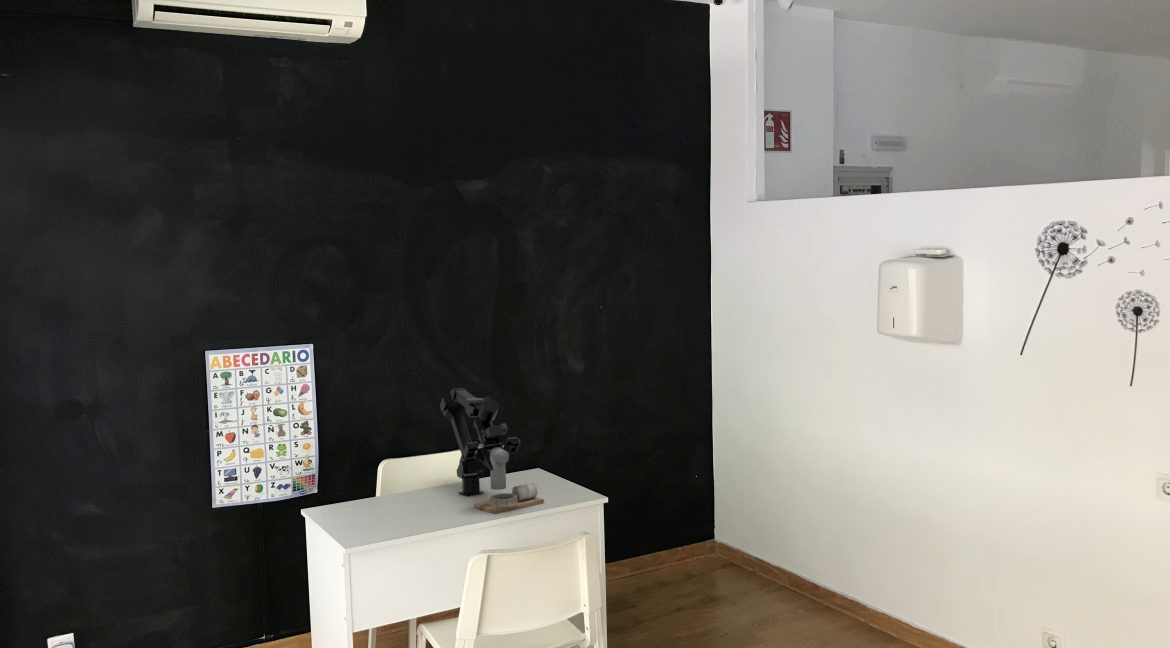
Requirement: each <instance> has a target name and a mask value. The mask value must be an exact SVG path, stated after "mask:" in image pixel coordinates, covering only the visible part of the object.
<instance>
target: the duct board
mask: <svg viewBox="0 0 1170 648" xmlns="http://www.w3.org/2000/svg"><path fill="white" fill-rule="evenodd" d="M538 493H539V492H538V487H537V485H536V483H534V482H530V483H524V484H521V485H517V486H513V488H512V490H511V493H510V492H508V493H497V494H496V493H495V494H492V495H491V496H490V498H489V500H486V501H482V502H480V501H479V502H475V503H473V508H475V507H476V509H478V508H479V509H478V510H481V509H482V510H481V511H484V510H485V511H484V512H486V511H487V513H489V512H490V514H492V513H493V515H496V514H502V513H505V512H509V511H510V512H511V511H514V510H518V509H523V507H524V508H527V507H532V506H537V505H541V504H545V499H543V498H540V497H538Z"/></svg>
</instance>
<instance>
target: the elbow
mask: <svg viewBox="0 0 1170 648" xmlns="http://www.w3.org/2000/svg"><path fill="white" fill-rule="evenodd" d="M489 459H490V462H491V464H492V467H493V470H492V471H491V470H490V469H489V470H490V474H489V475H490V477H489V479H490V489H491V490H495V491H499V490H505V489H506V488H507V479H506V478H507V477H506V476H507V475H506V474H507V473H506V472H507V471H506V467H505V463H506V462H507V461H508V462H509V459H510V454H508V452H507V451H505V450H503V449H502V448H500V447H495V448H493V449H492V450H491V451H489Z"/></svg>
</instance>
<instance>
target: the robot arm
mask: <svg viewBox="0 0 1170 648" xmlns="http://www.w3.org/2000/svg"><path fill="white" fill-rule="evenodd" d="M439 408H440V411H441V412H442V414H443V417H444V418H445V419H447V420H448V421H449V422H450V423H451V426H452V430H453V432H454V433H453V434H454V436H455V438H456V442H457V444H458V447H459V448H458V449H459V451H460V454H461V455H460V458H459V461H458V462H459V464H458V466H457V469H456V476H457V478H459V479H461V481H462V485H461V486H462V491H459V492H458V494H459V495H463V496H465V497H471V496H470V495H472V496H475V494H477V495H480V494H479V493H482V494H484V491H482V490H481V484H480V477H484V476H485V473H486V467H487V469H489V470H491V471H492V470H493V467H492V464H491V462H490V456H489V455H488V452H491V450H492V449H493V448H495V447H500V448H502V449H503V450H505V451H507V452H508V454H509V455H510V454H514V453H517V452H518V450H519V448H520V445H521V440H520V438H519V437H516V436H515V437H507V438H506V441H505V442H501V441H502V436H504V435H506V434H507V433H508V432H509V428H508V425H507V424H506V422H505V423H501V424H499V425H493V422H494V420H495V419H496V417H497V414H498V411H499V409H500V404H499V402H498V401H496V400H495V399H493V398H491V396H485V397H484V398H482V397H475V396H474V395H473V394H471V393H470V392H468V391H467V390H466V388H464V387H462V388H461V387H460V388H452V389H451V390H450V392H449V393H447V394H446V395H444V396H443V397H442V399H441V401H440V404H439ZM464 413H465V414H466V415H467V416H468V417H469V418H474V420H473V428H474V429H476V432H477V433H476V434H477V435H478V438H477V440H478V441H479V442H480V443H479V442H478V441H473V442H472V438H471V435H470V433H469V430H468V427H467V422H466V420H465V418H464ZM505 467H506V469H508V467H509V460H508V461H507V462H506V463H505Z"/></svg>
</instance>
